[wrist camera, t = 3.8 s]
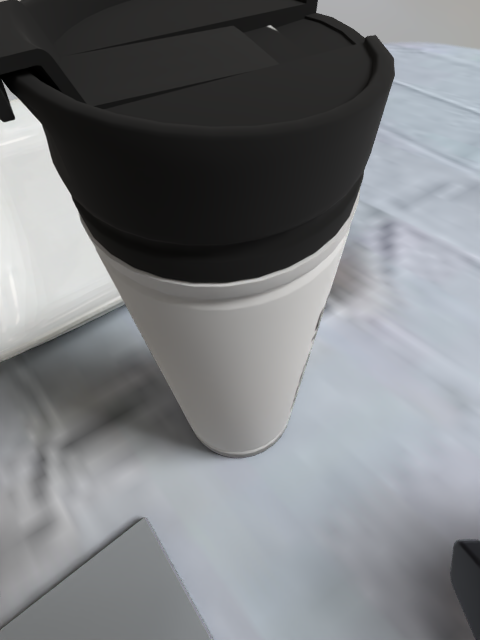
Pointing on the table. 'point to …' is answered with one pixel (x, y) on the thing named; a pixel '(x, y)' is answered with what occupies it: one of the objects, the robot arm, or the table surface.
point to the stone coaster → (116, 598)
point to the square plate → (42, 246)
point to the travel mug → (208, 178)
